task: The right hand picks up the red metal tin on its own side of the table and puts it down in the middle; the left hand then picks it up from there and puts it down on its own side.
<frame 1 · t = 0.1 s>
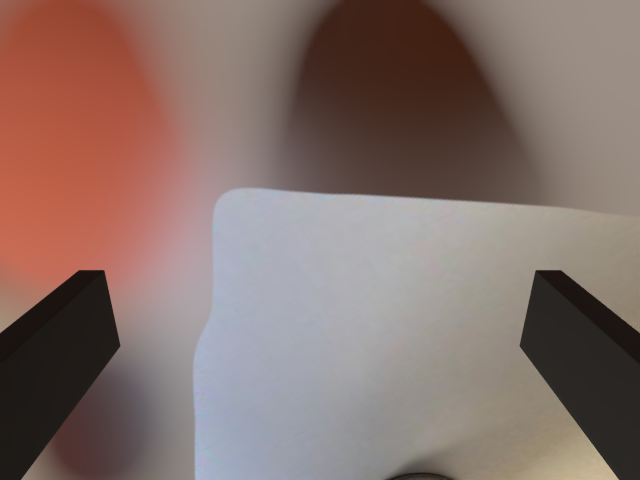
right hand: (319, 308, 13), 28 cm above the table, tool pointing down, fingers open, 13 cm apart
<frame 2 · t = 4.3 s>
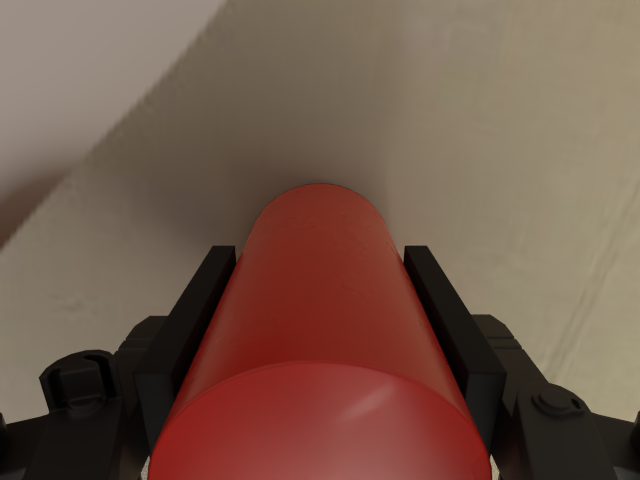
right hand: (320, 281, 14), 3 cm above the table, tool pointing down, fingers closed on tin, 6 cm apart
tin: (319, 252, 17), on the table, touching right hand
when the right hand's fingers open (4 cm above the table, at t = 16.3 s): tin drops 2 cm, on the table.
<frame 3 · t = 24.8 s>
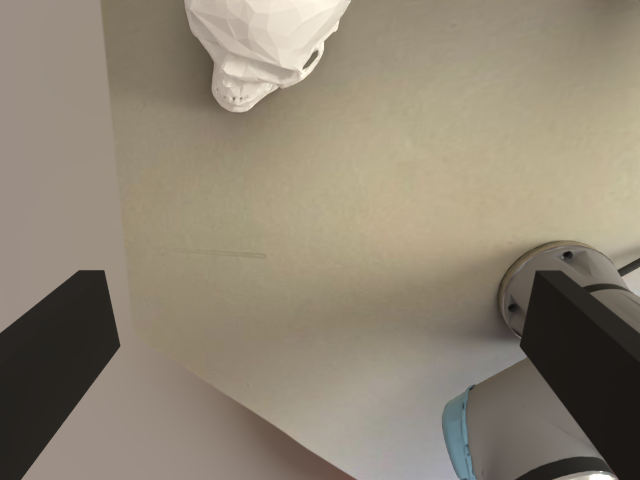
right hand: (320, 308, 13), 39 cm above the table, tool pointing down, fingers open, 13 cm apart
skull: (273, 16, 45), on the table
when the left hand's fingers open (4 cm above the table, at t = 34.7 s): tin drops 2 cm, on the table.
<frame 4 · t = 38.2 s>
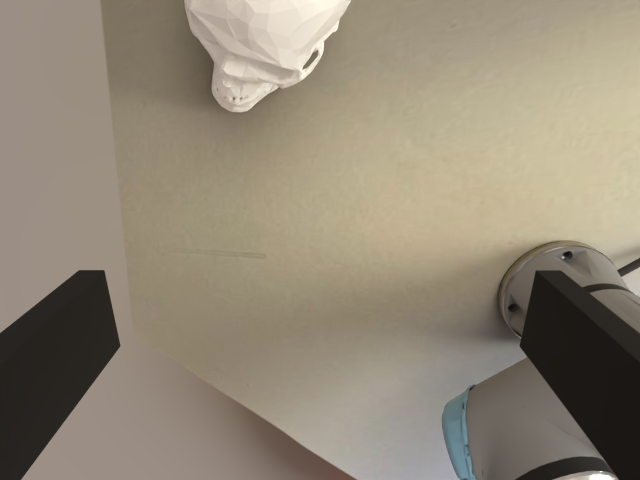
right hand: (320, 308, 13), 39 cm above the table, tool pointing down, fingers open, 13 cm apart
skull: (273, 16, 45), on the table
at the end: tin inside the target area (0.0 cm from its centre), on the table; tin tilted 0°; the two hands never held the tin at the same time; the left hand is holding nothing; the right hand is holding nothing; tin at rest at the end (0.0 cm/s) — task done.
